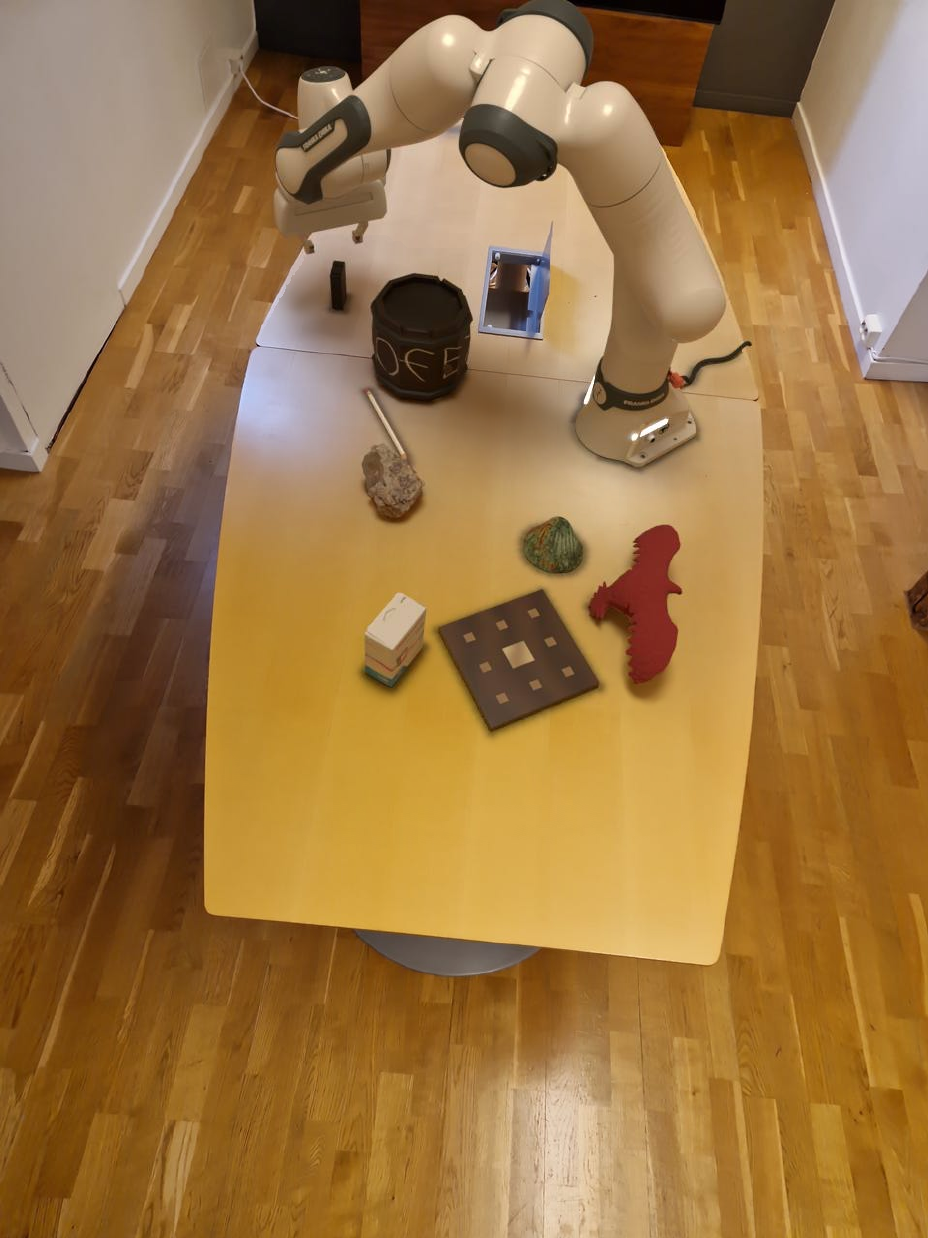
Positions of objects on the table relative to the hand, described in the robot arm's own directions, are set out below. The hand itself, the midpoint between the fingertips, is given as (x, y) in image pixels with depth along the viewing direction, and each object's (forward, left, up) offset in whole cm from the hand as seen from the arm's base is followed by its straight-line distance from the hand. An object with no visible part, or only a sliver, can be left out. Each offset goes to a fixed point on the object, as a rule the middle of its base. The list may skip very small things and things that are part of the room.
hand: (333, 246), depth 150 cm
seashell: (-11, +69, -13) cm, 71 cm away
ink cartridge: (0, 0, -13) cm, 13 cm away
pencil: (+4, +34, -13) cm, 36 cm away
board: (+4, +85, -13) cm, 86 cm away
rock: (+10, +50, -13) cm, 52 cm away
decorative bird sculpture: (-16, +85, -13) cm, 87 cm away
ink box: (+21, +78, -13) cm, 82 cm away
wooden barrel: (-7, +24, -13) cm, 28 cm away
